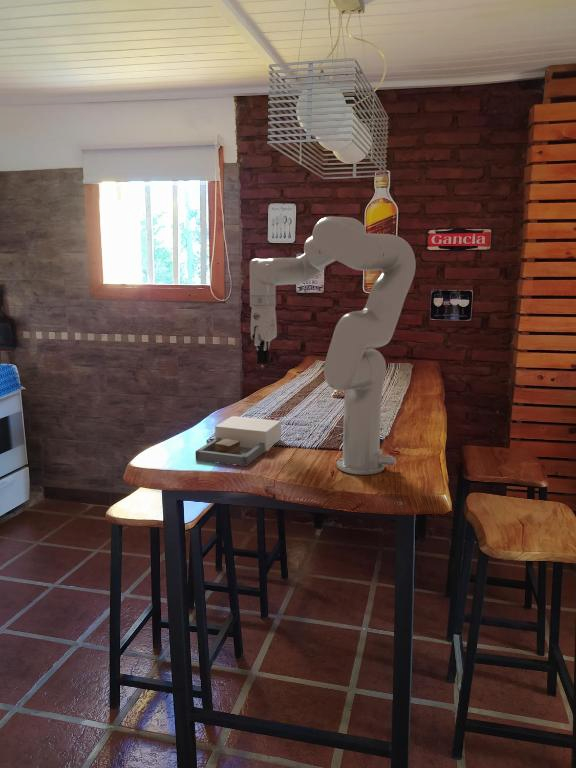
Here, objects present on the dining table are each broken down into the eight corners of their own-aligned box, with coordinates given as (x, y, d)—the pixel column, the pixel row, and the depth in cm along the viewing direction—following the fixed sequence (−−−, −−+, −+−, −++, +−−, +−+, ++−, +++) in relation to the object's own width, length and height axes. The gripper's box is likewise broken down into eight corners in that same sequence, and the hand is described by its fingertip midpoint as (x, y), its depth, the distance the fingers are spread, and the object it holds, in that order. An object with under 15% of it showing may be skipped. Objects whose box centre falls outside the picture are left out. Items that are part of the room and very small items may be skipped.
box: (264, 451, 171) (264, 443, 170) (246, 466, 159) (246, 457, 158) (216, 446, 176) (216, 437, 175) (195, 460, 164) (195, 451, 163)
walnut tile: (229, 446, 164) (229, 456, 165) (239, 441, 169) (239, 451, 169) (214, 443, 167) (214, 453, 167) (225, 438, 171) (225, 448, 172)
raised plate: (280, 439, 182) (280, 420, 181) (266, 452, 171) (266, 431, 169) (232, 434, 187) (232, 416, 186) (215, 445, 176) (215, 426, 175)
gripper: (265, 303, 168) (265, 368, 172) (283, 300, 182) (283, 359, 185) (240, 303, 170) (241, 366, 174) (260, 299, 184) (261, 358, 188)
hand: (263, 363), depth 180 cm, fingers closed
